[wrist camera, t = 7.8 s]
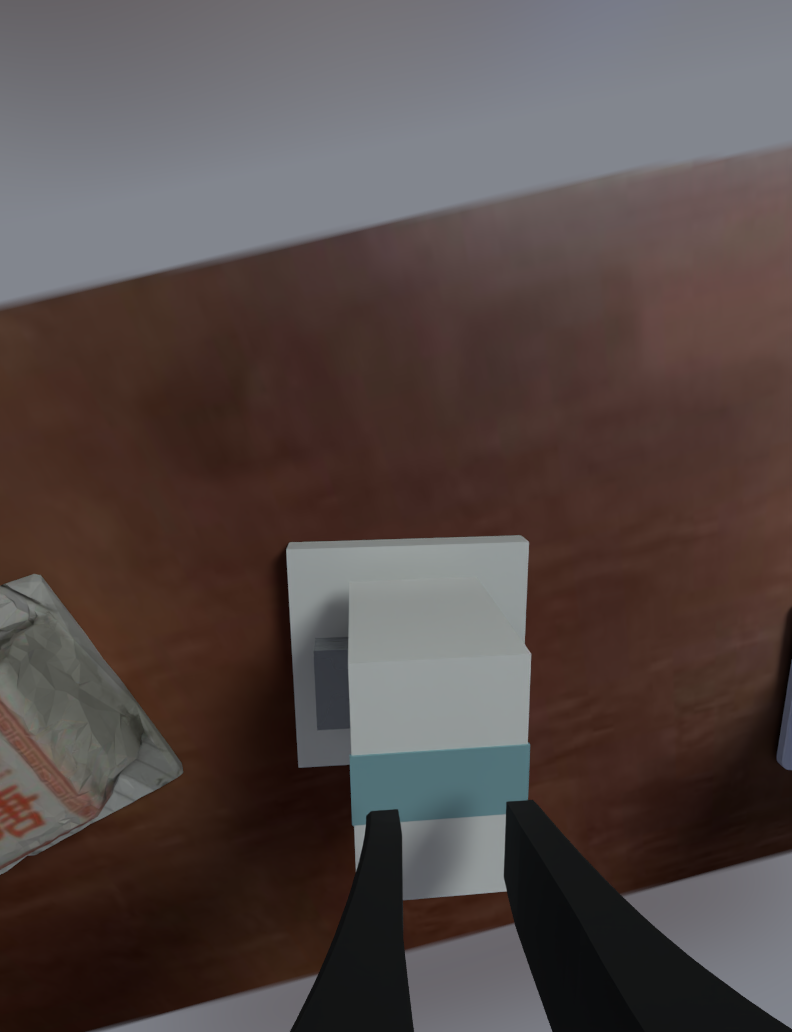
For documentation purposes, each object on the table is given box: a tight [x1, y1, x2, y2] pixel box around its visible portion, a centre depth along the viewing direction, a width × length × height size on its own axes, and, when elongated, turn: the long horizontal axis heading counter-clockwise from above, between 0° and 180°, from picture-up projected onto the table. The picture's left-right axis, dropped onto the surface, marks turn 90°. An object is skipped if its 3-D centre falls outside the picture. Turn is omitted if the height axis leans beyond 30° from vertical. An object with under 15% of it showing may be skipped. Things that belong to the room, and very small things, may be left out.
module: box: [348, 577, 531, 900], centre depth 17 cm, size 5×7×6 cm, turn 1°
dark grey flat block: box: [313, 637, 350, 730], centre depth 19 cm, size 7×3×1 cm, turn 91°
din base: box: [286, 535, 529, 768], centre depth 21 cm, size 9×9×1 cm
